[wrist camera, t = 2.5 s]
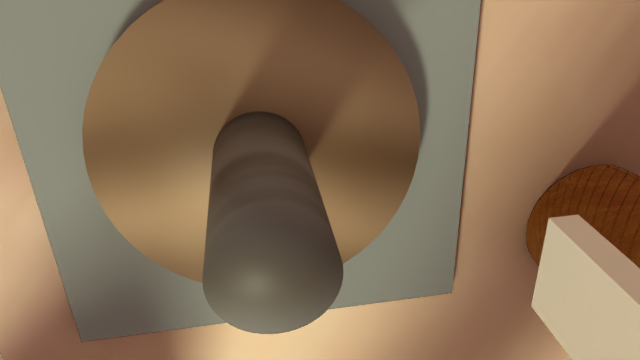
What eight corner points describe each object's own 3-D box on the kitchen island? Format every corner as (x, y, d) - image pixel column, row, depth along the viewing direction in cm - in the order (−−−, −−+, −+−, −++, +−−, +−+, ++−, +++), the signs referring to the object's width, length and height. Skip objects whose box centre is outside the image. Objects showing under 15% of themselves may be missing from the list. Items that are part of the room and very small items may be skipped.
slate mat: (447, 285, 27) (452, 293, 26) (84, 332, 25) (81, 341, 24) (484, -113, 19) (492, -114, 18) (-49, -96, 17) (-58, -96, 16)
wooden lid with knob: (406, 257, 25) (489, 415, 17) (127, 292, 23) (73, 483, 16) (419, -35, 19) (553, -4, 11) (48, -14, 18) (-104, 40, 10)
